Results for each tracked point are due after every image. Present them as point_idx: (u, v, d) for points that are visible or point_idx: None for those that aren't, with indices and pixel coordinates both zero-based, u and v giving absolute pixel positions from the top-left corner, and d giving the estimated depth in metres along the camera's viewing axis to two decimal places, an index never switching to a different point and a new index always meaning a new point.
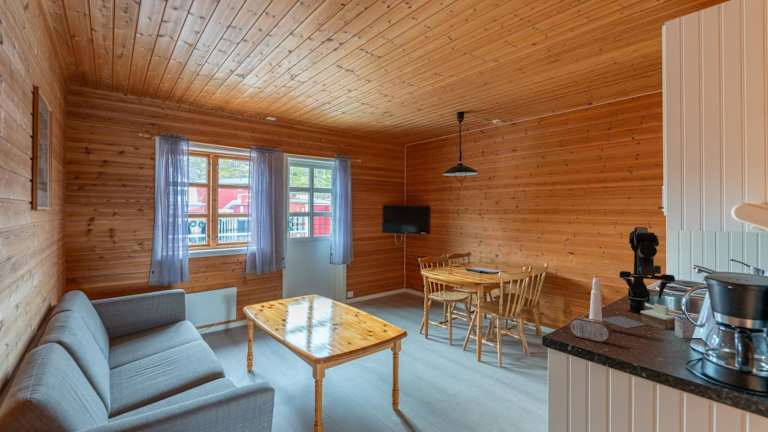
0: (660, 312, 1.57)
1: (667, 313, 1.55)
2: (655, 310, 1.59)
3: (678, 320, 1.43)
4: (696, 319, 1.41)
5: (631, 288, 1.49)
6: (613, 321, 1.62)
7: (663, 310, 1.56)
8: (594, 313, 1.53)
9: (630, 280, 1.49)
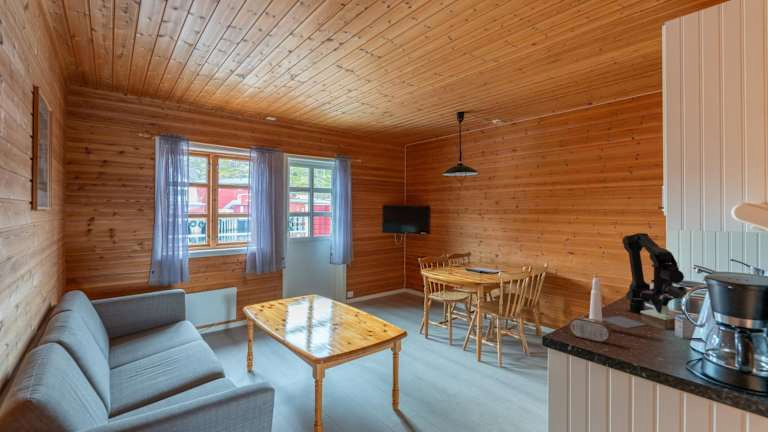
0: None
1: (667, 313, 1.55)
2: (655, 310, 1.59)
3: (678, 320, 1.43)
4: (696, 319, 1.41)
5: (661, 307, 1.56)
6: (613, 321, 1.62)
7: (663, 310, 1.56)
8: (594, 313, 1.53)
9: (663, 300, 1.55)
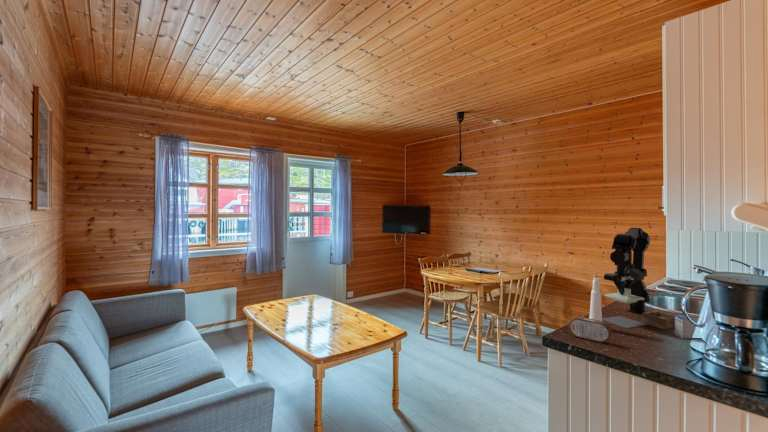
0: (623, 295, 1.60)
1: (629, 295, 1.59)
2: (618, 293, 1.62)
3: (678, 320, 1.43)
4: (696, 319, 1.41)
5: (623, 289, 1.59)
6: (613, 321, 1.62)
7: (626, 293, 1.59)
8: (594, 313, 1.53)
9: (625, 282, 1.58)
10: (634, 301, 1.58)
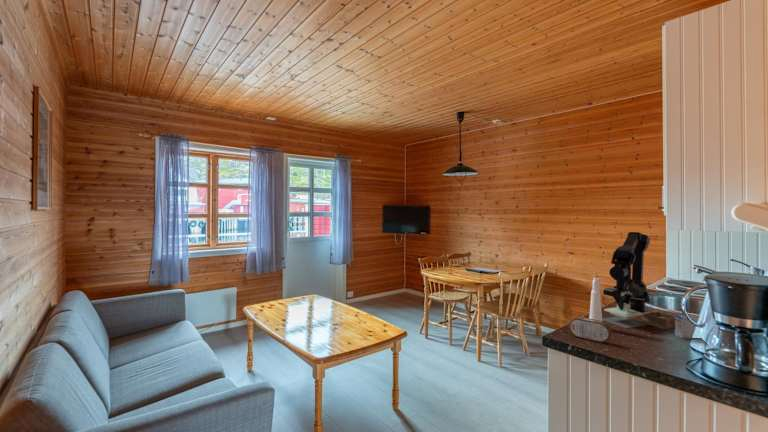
0: (622, 310, 1.60)
1: (629, 311, 1.59)
2: (618, 308, 1.62)
3: (678, 320, 1.43)
4: (696, 319, 1.41)
5: (622, 304, 1.60)
6: (613, 321, 1.62)
7: (625, 308, 1.59)
8: (594, 313, 1.53)
9: (625, 297, 1.58)
10: (633, 316, 1.58)
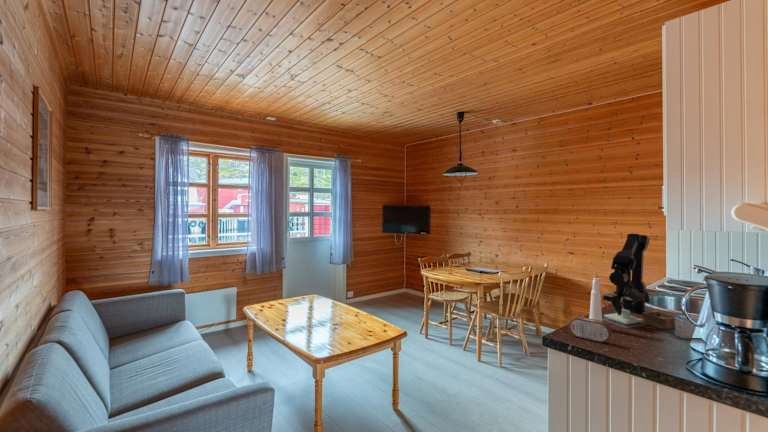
0: (622, 316, 1.60)
1: (629, 317, 1.59)
2: None
3: (678, 320, 1.43)
4: (696, 319, 1.41)
5: (621, 309, 1.59)
6: (613, 321, 1.62)
7: (625, 314, 1.59)
8: (594, 313, 1.53)
9: (623, 303, 1.58)
10: (633, 322, 1.58)
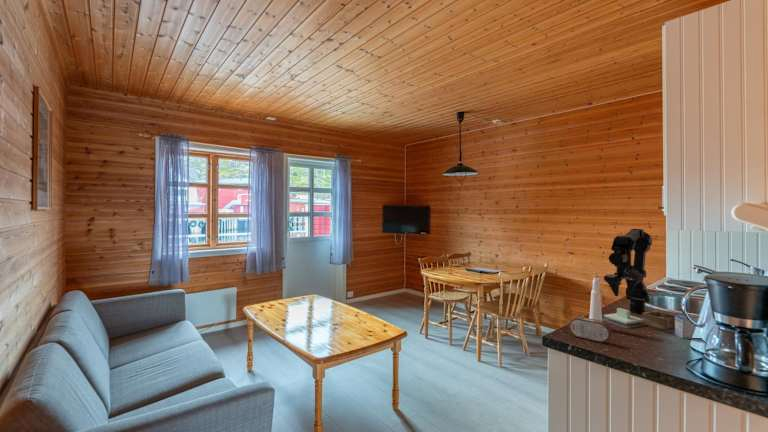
0: (622, 316, 1.60)
1: (629, 317, 1.59)
2: (618, 314, 1.62)
3: (678, 320, 1.43)
4: (696, 319, 1.41)
5: (617, 290, 1.61)
6: (613, 321, 1.62)
7: (625, 314, 1.59)
8: (594, 313, 1.53)
9: (620, 284, 1.60)
10: (633, 322, 1.58)
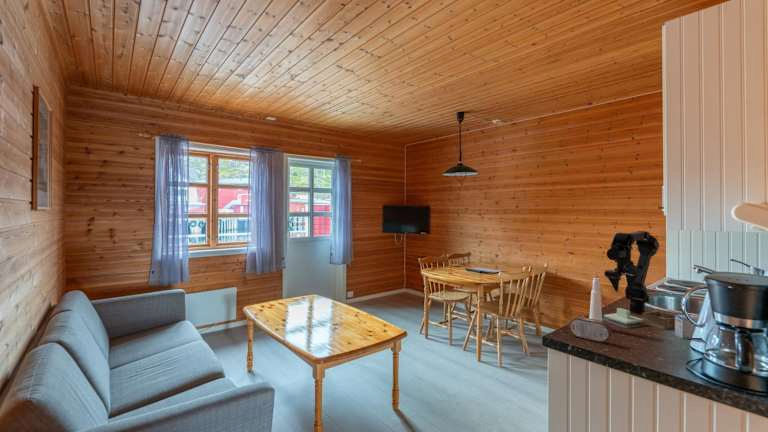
0: (622, 316, 1.60)
1: (629, 317, 1.59)
2: (618, 314, 1.62)
3: (678, 320, 1.43)
4: (696, 319, 1.41)
5: (617, 285, 1.67)
6: (613, 321, 1.62)
7: (625, 314, 1.59)
8: (594, 313, 1.53)
9: (620, 279, 1.65)
10: (633, 322, 1.58)
